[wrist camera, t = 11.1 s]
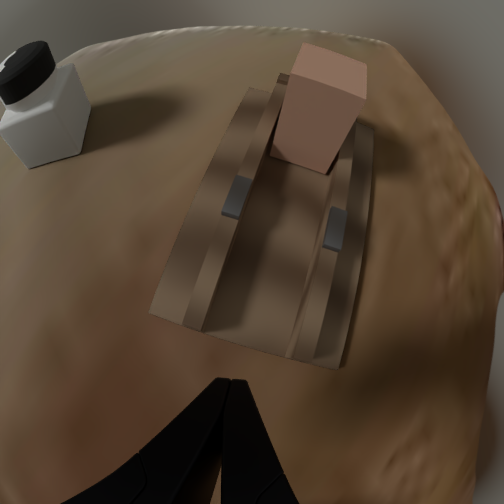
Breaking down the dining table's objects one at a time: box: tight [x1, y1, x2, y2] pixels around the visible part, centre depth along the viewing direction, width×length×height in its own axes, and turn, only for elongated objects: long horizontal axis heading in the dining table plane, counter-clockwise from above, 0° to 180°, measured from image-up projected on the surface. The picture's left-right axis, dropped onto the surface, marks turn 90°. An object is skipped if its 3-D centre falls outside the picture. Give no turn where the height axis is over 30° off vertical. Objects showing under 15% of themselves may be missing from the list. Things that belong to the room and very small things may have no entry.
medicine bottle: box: [0, 41, 91, 169], centre depth 18 cm, size 7×7×12 cm
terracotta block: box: [270, 42, 367, 174], centre depth 20 cm, size 5×5×9 cm
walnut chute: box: [148, 73, 374, 370], centre depth 22 cm, size 24×14×4 cm, turn 163°
